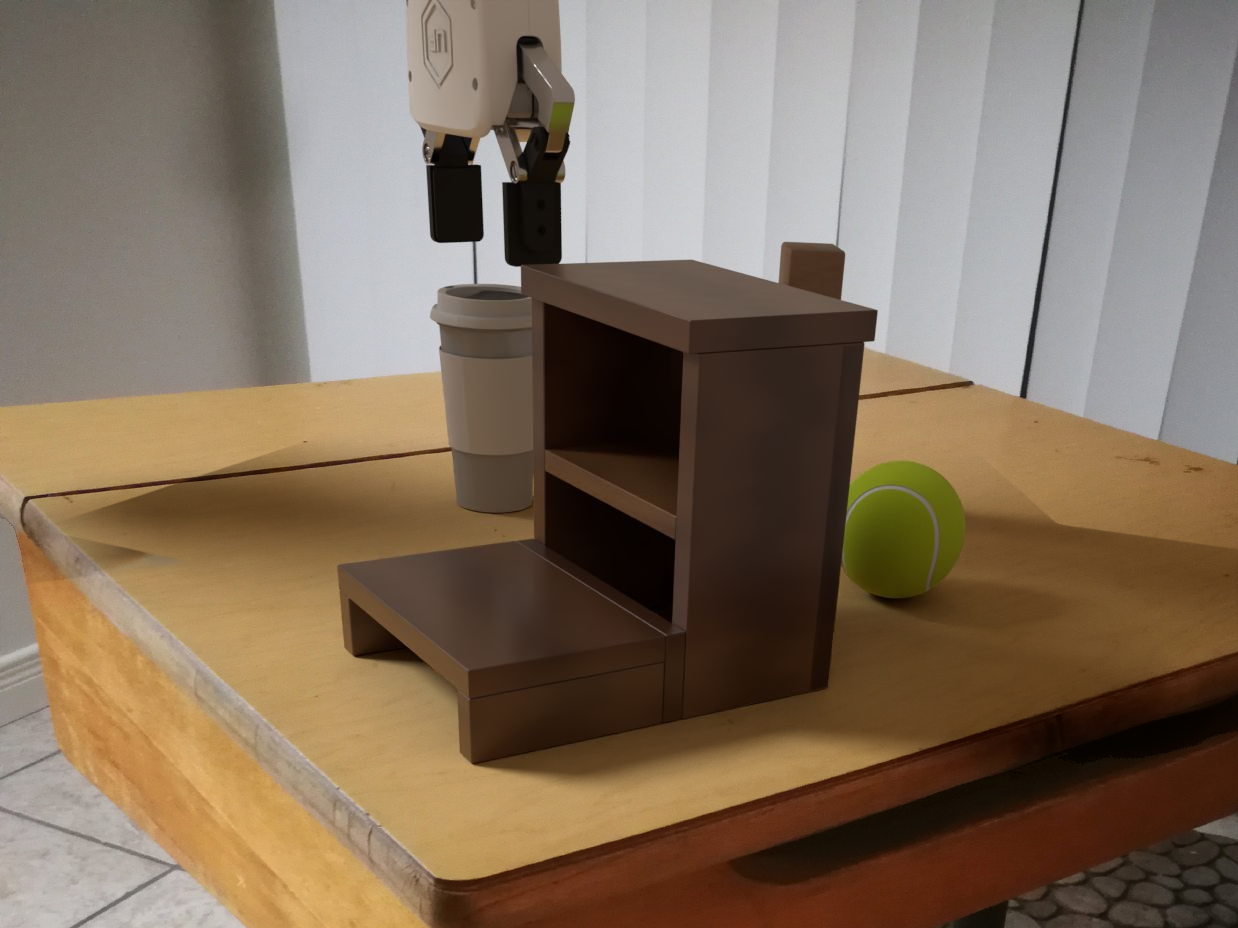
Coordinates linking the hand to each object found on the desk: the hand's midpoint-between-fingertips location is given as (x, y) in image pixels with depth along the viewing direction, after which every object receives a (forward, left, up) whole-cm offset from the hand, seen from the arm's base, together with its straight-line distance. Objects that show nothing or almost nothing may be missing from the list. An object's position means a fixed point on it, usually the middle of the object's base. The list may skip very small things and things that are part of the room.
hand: (494, 252), depth 81 cm
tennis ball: (+12, -24, -14) cm, 30 cm away
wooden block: (+18, -6, -14) cm, 23 cm away
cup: (0, 0, -14) cm, 14 cm away
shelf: (-8, -26, -14) cm, 31 cm away
